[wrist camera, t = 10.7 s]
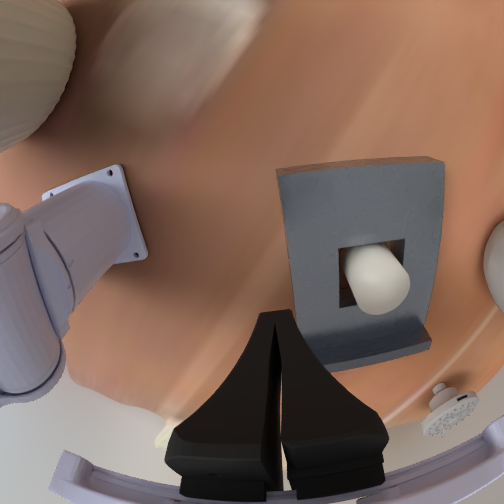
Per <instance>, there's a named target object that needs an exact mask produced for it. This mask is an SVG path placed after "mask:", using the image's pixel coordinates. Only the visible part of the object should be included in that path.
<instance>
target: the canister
mask: <svg viewBox="0 0 504 504" xmlns="http://www.w3.org/2000/svg"><path fill="white" fill-rule="evenodd" d="M75 29H76V28H75V24H74V23H73V18H72V16H71V15H70V13H69V12H68V10H67V8H66V7H65V6H64V5H62V4H61V3H60V2H59V1H57V0H0V153H1V152H3V151H5V150H7V149H9V148H11V147H12V146H14V145H16V144H18V143H19V142H21V141H23V140H25V139H26V138H27V137H29V136H30V135H31V134H32V133H33V132H35V131H36V130H37V129H38V128H39V127H40V125H41V124H42V123H44V122H45V121H46V119H47V117H48V115H49V114H50V113H52V111H53V110H54V107H55V105H56V104H57V103H58V102H59V100H60V96H61V94H62V93H63V92H64V90H65V85H66V83H67V81H68V80H69V75H70V72H71V70H72V68H73V67H72V65H73V61H74V59H75V49H76V47H77V46H76V38H77V36H76V33H75Z"/></svg>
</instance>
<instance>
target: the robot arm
mask: <svg viewBox="0 0 504 504" xmlns="http://www.w3.org/2000/svg"><path fill="white" fill-rule="evenodd" d="M110 170H112V172H113V175H111V174H110ZM52 193H53V195H54V196H53V195H52ZM42 200H43V201H42V202H40V203H38V204H36V205H34V206H33V207H31V208H29V209H27V210H25V211H24V212H22V211H21V210H19V209H17V208H15V207H13V206H12V205H10V204H7V203H0V407H2V406H4V405H7V404H11V403H24V402H30V401H34V400H36V399H38V398H41V397H42V396H44V395H45V394H47V393H48V392H49V391H50V390H51V389H53V387H54V386H55V385H56V384H57V383H58V381H59V379H60V378H61V376H62V373H63V371H64V368H65V364H66V354H65V349H64V345H63V343H62V341H61V340H62V338H63V337H64V336H65V334H66V333H67V331H68V330H69V329H70V327H69V323H68V319H69V316H70V314H71V313H72V312H73V311H74V309H75V308H76V307H77V306H78V304H79V303H80V302H81V301H82V300H83V298H84V297H85V296H86V295H87V293H88V292H89V291H90V290H91V289H92V287H93V286H94V285H95V284H96V283H97V282H98V280H99V279H100V278H101V277H102V276H103V275H104V274H105V272H106V271H107V270H108V269H109V268H110V267H111V266H112V265H113V264H119V263H125V262H131V261H138V260H144V259H146V258H147V256H148V250H147V247H146V244H145V241H144V239H143V236H142V233H141V229H140V226H139V223H138V220H137V217H136V214H135V211H134V207H133V204H132V201H131V197H130V194H129V190H128V187H127V183H126V179H125V176H124V172H123V168H122V166H121V165H119V164H115V165H112V166H109V167H107V168H104V169H101V170H98V171H96V172H93V173H90V174H88V175H85V176H83V177H80V178H78V179H75V180H73V181H70V182H68V183H66V184H63V185H61V186H59V187H56V188H54V189H52V190H50V191H47V192H45V193H44V194H43V195H42ZM135 252H136V253H138V254H139V256H137V255H136V254H135ZM281 373H282V422H281V431H280V393H281ZM388 441H389V436H388V433H387V430H386V428H385V425H384V424H383V422H382V420H381V418H380V417H379V415H378V414H377V412H376V411H374V410H373V409H371V408H370V407H368V406H367V405H365V404H364V403H363V402H361V401H360V400H359V399H357V398H356V397H355V396H354V395H353V394H351V393H350V392H349V391H348V390H347V389H346V388H345V387H344V386H342V385H341V384H340V383H339V382H338V381H337V380H336V379H335V378H334V377H333V376H332V375H331V374H330V373H329V371H328V370H327V369H326V368H325V367H324V366H323V365H322V363H321V362H320V361H319V360H318V358H317V357H316V356H315V354H314V353H313V351H312V350H311V349H310V347H309V346H308V344H307V342H306V341H305V339H304V337H303V336H302V334H301V332H300V330H299V328H298V326H297V324H296V322H295V320H294V317H293V314H292V311H291V310H290V309H286V310H278V311H270V312H262V313H260V314H259V316H258V319H257V322H256V325H255V328H254V330H253V333H252V335H251V337H250V339H249V341H248V343H247V345H246V347H245V349H244V351H243V353H242V355H241V356H240V358H239V360H238V362H237V363H236V365H235V366H234V368H233V369H232V371H231V372H230V374H229V375H228V376H227V378H226V379H225V381H224V382H223V383H222V384H221V385H220V387H219V388H218V389H217V390H216V391H215V393H214V394H213V395H212V396H211V397H210V398H209V399H208V400H207V401H206V402H205V403H204V404H203V405H202V406H201V407H200V408H199V409H198V410H197V411H195V412H194V413H193V414H192V415H191V416H189V417H188V418H187V419H186V420H184V421H183V422H182V423H181V424H179V425H178V426H177V427H175V428H174V430H173V432H172V435H171V437H170V440H169V442H168V446H167V451H166V455H165V463H166V464H167V465H168V466H169V467H170V468H171V469H172V470H174V471H175V472H176V473H178V474H179V475H181V476H182V479H181V485H180V486H173V485H167V484H162V483H156V482H152V481H147V480H143V479H139V478H134V477H130V476H127V475H123V474H120V473H116V472H113V471H109V470H106V469H103V468H100V467H97V466H94V465H93V464H92V463H90V462H89V461H88V460H86V459H84V458H82V457H80V456H78V455H75V454H73V453H71V452H68V451H66V450H63V452H62V455H61V457H60V460H59V462H58V465H57V467H56V470H55V472H54V475H53V478H52V481H51V484H50V486H49V490H50V491H52V492H54V493H55V494H57V495H59V496H61V497H62V498H64V499H66V500H68V501H70V502H72V503H74V504H329V503H335V502H341V501H346V500H351V499H356V498H360V497H363V498H360V499H358V500H357V501H356V503H357V504H455V503H457V502H459V501H461V500H463V499H465V498H467V497H468V496H470V495H472V494H474V493H475V492H477V491H479V490H480V489H482V488H483V487H485V486H487V485H488V484H490V483H491V482H493V481H494V480H496V479H497V478H499V477H500V476H501V475H503V474H504V415H503V416H501V417H500V418H498V419H496V420H495V421H493V422H492V423H491V424H490V425H488V426H487V427H486V428H485V429H484V431H483V432H482V433H481V434H479V435H477V436H475V437H474V438H472V439H470V440H468V441H466V442H464V443H462V444H460V445H458V446H456V447H454V448H452V449H449V450H447V451H445V452H443V453H440V454H438V455H436V456H433V457H431V458H428V459H426V460H423V461H421V462H418V463H416V464H413V465H410V466H407V467H404V468H401V469H398V470H395V471H392V472H388V473H384V469H383V464H382V463H383V462H384V459H383V454H382V451H383V449H384V448H385V447H386V445H387V443H388ZM281 442H282V446H283V450H284V453H285V457H286V461H287V479H288V480H289V482H290V485H291V488H292V490H289V491H284V490H283V471H282V452H281ZM364 496H366V497H364Z"/></svg>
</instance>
